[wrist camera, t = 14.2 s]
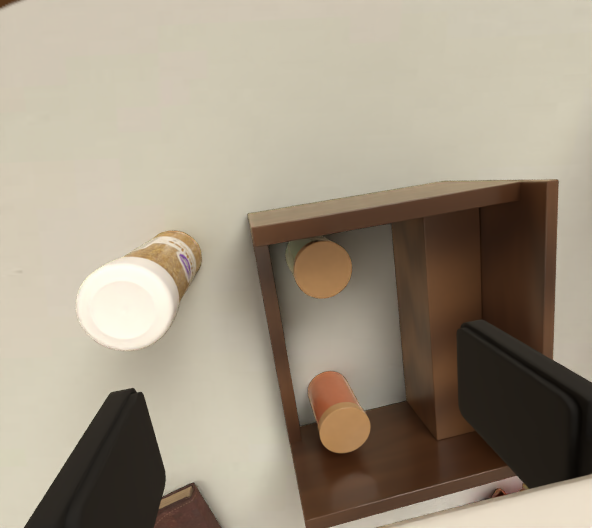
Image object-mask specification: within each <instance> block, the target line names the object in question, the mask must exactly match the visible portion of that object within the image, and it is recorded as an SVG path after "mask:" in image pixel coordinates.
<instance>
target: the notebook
mask: <svg viewBox="0 0 592 528" xmlns="http://www.w3.org/2000/svg"><path fill="white" fill-rule="evenodd" d="M154 528H221V526H220V525H219V523H218V521H217V520H216V518H215V517H214V515H213V513H212V512H211V510H210V508H209V507H208V505H207V503H206V502H205V500H204V498H203V497H202V495H201V494H200V492H199V490H198V489H197V487H196V485H195V484H194V483H191V484H189V485H187V486H185V487H183V488H180V489H178V490H176V491H174V492H172V493H170V494H167V495H165V496H163V497H162V499H161V502H160V506H159V510H158V514H157V518H156V521H155V525H154Z"/></svg>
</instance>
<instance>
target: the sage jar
mask: <svg viewBox="0 0 592 528" xmlns="http://www.w3.org/2000/svg"><path fill="white" fill-rule="evenodd" d="M285 259H286V263H287V265H288V267H289V269H290V270H291V272H292V274H293V276H294V279H295V281H296V283H297V285H298V287H299V288H300V289H301V290H302V291H303V292H304V293H305V294H307V295H309V296H311V297H314V298H319V299H323V298H329V297H332V296H335V295H336V294H338V293H339V292H341V291H342V290H343V289H344V288H345V287H346V285H347V284H348V282H349V280H350V277H351V273H352V263H351V259H350V256H349V254H348V253H347V251H346V250H345V249H344V248H343V247H342V246H340V245H339V244H337V243H335V242H333V241H330V240H328V239H327V238H325V237H323V236H316V237H310V238H305V239H299V240H293V241H290V242H289V243H288V245H287V248H286V252H285Z"/></svg>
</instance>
